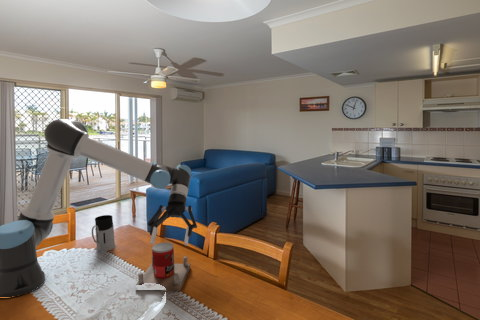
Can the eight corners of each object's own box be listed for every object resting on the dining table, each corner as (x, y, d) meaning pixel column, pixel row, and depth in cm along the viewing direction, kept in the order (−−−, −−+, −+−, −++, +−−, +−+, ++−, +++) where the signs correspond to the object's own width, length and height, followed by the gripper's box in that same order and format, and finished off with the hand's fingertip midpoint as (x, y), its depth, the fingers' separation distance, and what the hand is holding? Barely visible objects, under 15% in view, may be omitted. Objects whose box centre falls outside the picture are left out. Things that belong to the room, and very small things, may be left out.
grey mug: (119, 243, 139) (117, 214, 138) (103, 256, 125) (101, 224, 124) (102, 243, 140) (100, 214, 138) (84, 256, 126) (82, 224, 124)
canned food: (169, 280, 102) (167, 251, 101) (149, 278, 104) (147, 249, 102) (178, 269, 109) (176, 242, 108) (159, 267, 111) (158, 241, 110)
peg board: (135, 290, 99) (134, 276, 99) (152, 267, 115) (151, 255, 114) (179, 291, 98) (179, 276, 98) (190, 268, 114) (189, 255, 114)
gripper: (207, 201, 125) (201, 247, 112) (153, 200, 126) (141, 246, 113) (204, 192, 119) (198, 240, 106) (147, 192, 120) (134, 239, 108)
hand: (168, 244), depth 110 cm, fingers open, 13 cm apart
